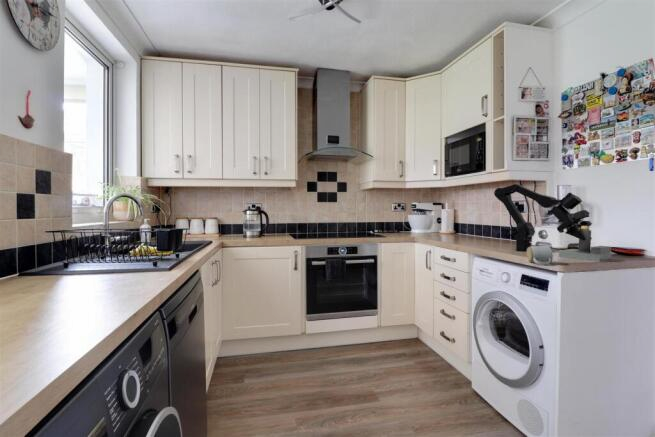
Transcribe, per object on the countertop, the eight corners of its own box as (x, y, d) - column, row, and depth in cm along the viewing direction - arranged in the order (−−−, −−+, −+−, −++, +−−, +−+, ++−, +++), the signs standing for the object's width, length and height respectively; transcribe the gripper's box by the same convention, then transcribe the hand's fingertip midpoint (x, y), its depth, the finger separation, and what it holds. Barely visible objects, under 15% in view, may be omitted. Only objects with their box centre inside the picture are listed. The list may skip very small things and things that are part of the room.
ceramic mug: (525, 260, 141) (525, 244, 141) (546, 261, 139) (546, 244, 138) (533, 265, 131) (534, 247, 131) (556, 266, 129) (556, 248, 128)
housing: (559, 256, 153) (559, 244, 153) (571, 254, 159) (571, 243, 159) (599, 261, 139) (599, 248, 139) (611, 259, 145) (611, 246, 145)
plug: (582, 253, 147) (583, 226, 147) (575, 252, 152) (576, 225, 151) (593, 253, 147) (594, 226, 146) (585, 252, 151) (586, 225, 151)
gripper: (564, 204, 148) (590, 229, 139) (588, 204, 156) (614, 228, 146) (546, 220, 156) (570, 244, 146) (570, 219, 163) (594, 242, 153)
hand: (587, 239), depth 148 cm, fingers closed on plug, 4 cm apart
